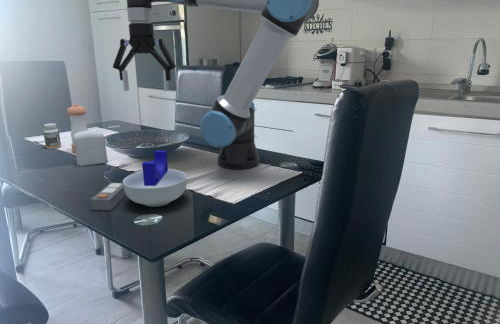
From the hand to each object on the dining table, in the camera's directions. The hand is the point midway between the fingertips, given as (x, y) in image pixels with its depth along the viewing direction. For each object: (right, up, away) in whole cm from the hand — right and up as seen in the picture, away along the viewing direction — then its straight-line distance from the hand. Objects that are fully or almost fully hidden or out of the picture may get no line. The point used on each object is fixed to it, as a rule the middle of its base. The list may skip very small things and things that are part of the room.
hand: (146, 90), depth 127 cm
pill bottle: (-48, -18, +33) cm, 61 cm away
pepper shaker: (-34, -20, +28) cm, 48 cm away
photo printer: (-23, -25, +12) cm, 36 cm away
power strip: (-4, -34, -20) cm, 40 cm away
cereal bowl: (+9, -35, -21) cm, 42 cm away
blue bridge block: (+8, -28, -24) cm, 38 cm away
